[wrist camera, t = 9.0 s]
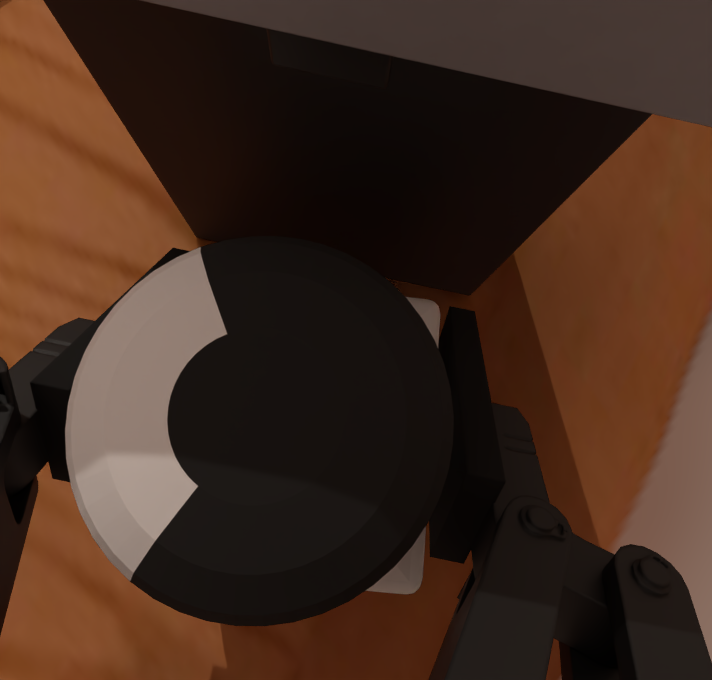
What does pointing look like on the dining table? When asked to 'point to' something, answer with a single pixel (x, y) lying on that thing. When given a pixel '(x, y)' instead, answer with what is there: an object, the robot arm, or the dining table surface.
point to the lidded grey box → (389, 113)
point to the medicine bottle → (262, 432)
